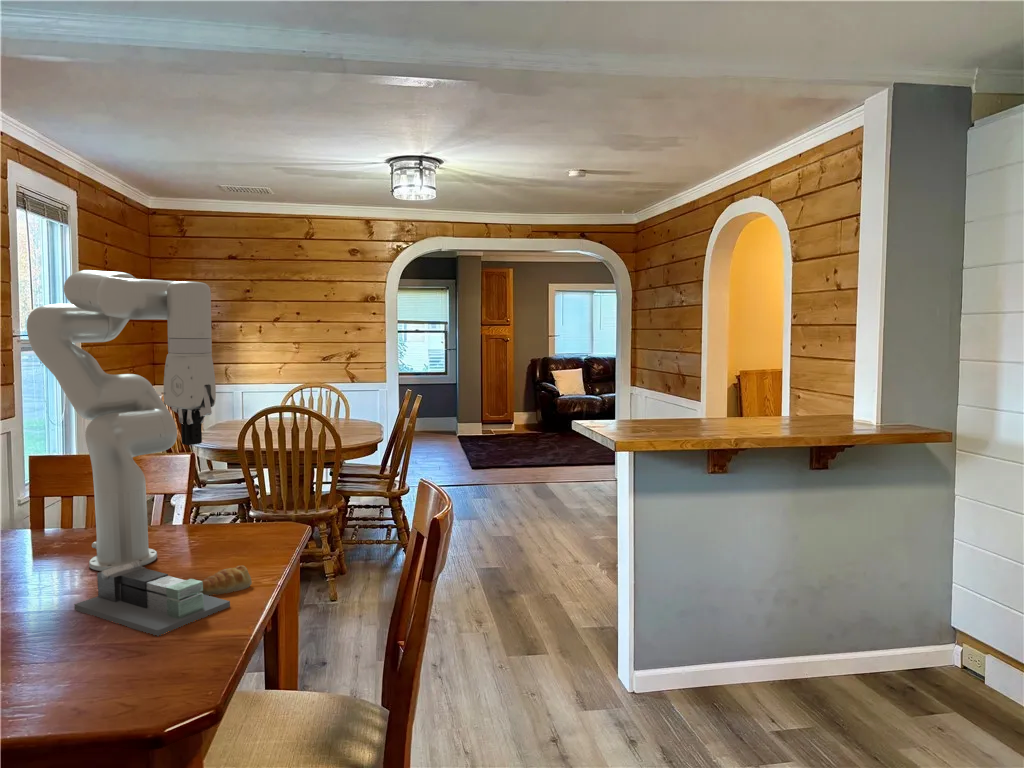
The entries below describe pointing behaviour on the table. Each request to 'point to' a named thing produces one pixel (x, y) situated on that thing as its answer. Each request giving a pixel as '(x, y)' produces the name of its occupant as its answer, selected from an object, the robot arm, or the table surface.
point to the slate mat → (146, 614)
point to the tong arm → (162, 583)
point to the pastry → (227, 581)
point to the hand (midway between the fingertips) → (191, 443)
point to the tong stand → (144, 593)
